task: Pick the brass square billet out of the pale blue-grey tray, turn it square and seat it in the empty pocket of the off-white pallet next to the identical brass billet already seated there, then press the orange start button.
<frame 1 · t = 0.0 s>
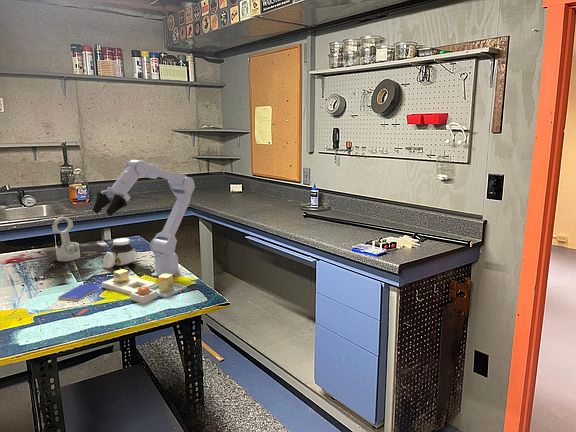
hand: (101, 213, 156), 32 cm above the table, tool tilted 50°, fingers open, 7 cm apart
start button: (143, 291, 160), point 3 cm above the table, slide at 0.0 cm
billet: (166, 290, 168), resting on tray
tray: (166, 291, 168), on the table
button housing: (144, 299, 160), on the table
engine component: (67, 258, 208), on the table
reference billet: (121, 285, 174), resting in pallet
hard drive: (79, 295, 166), on the table
pallet: (129, 287, 172), on the table
spread jar: (119, 266, 197), on the table
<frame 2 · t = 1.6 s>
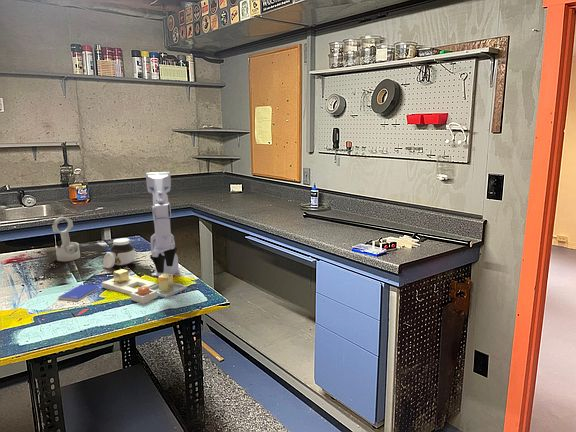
hand: (165, 269, 166), 9 cm above the table, tool pointing down, fingers open, 7 cm apart
nothing on the table moved.
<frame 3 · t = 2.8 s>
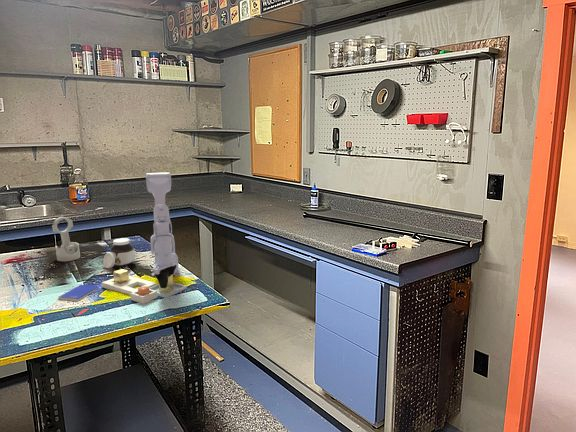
hand: (166, 285, 168), 2 cm above the table, tool pointing down, fingers closed on billet, 4 cm apart
billet: (166, 290, 168), resting on tray, touching gripper
everything else where it was.
when the fingers open (2 cm above the table, at t = 6.6 s): billet stays where it is, resting in pallet.
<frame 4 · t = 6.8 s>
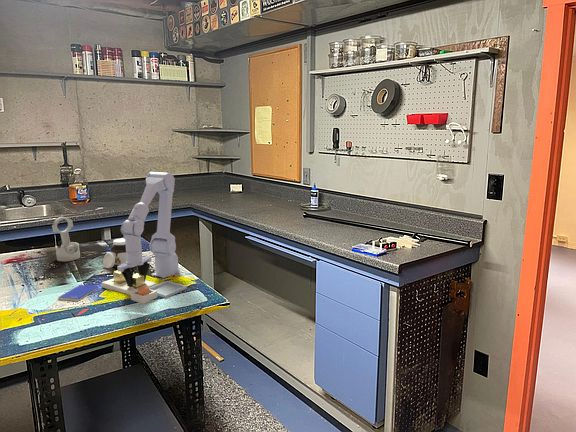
hand: (136, 283, 169), 2 cm above the table, tool pointing down, fingers open, 5 cm apart
billet: (137, 290, 170), resting in pallet
everything else where it was.
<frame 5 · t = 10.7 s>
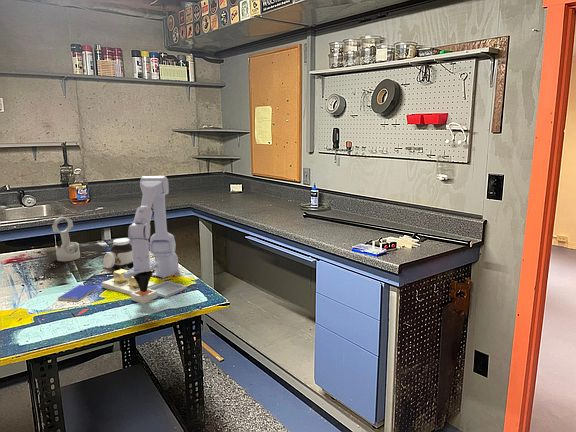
hand: (143, 290, 160), 3 cm above the table, tool pointing down, fingers closed, pressing on start button
start button: (143, 294, 160), point 2 cm above the table, slide at 0.9 cm, touching gripper
everything else where it was.
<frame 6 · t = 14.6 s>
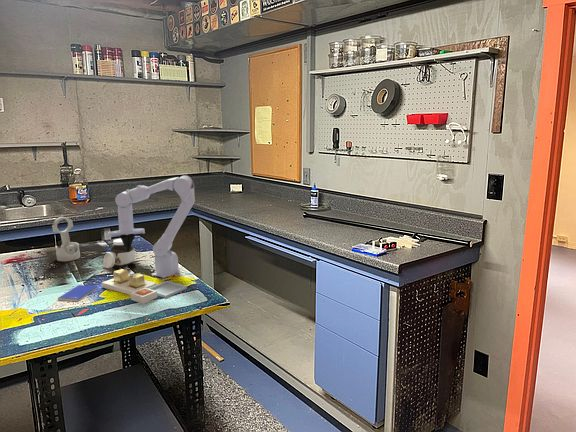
hand: (127, 251, 184), 10 cm above the table, tool pointing down, fingers closed
start button: (144, 295, 160), point 2 cm above the table, slide at 1.3 cm
everything else where it was.
at the end: billet 0.3 cm from the target spot on the pallet, point 0.0 cm above the pallet's base; billet tilted 0°; start button slide at 1.3 cm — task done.
